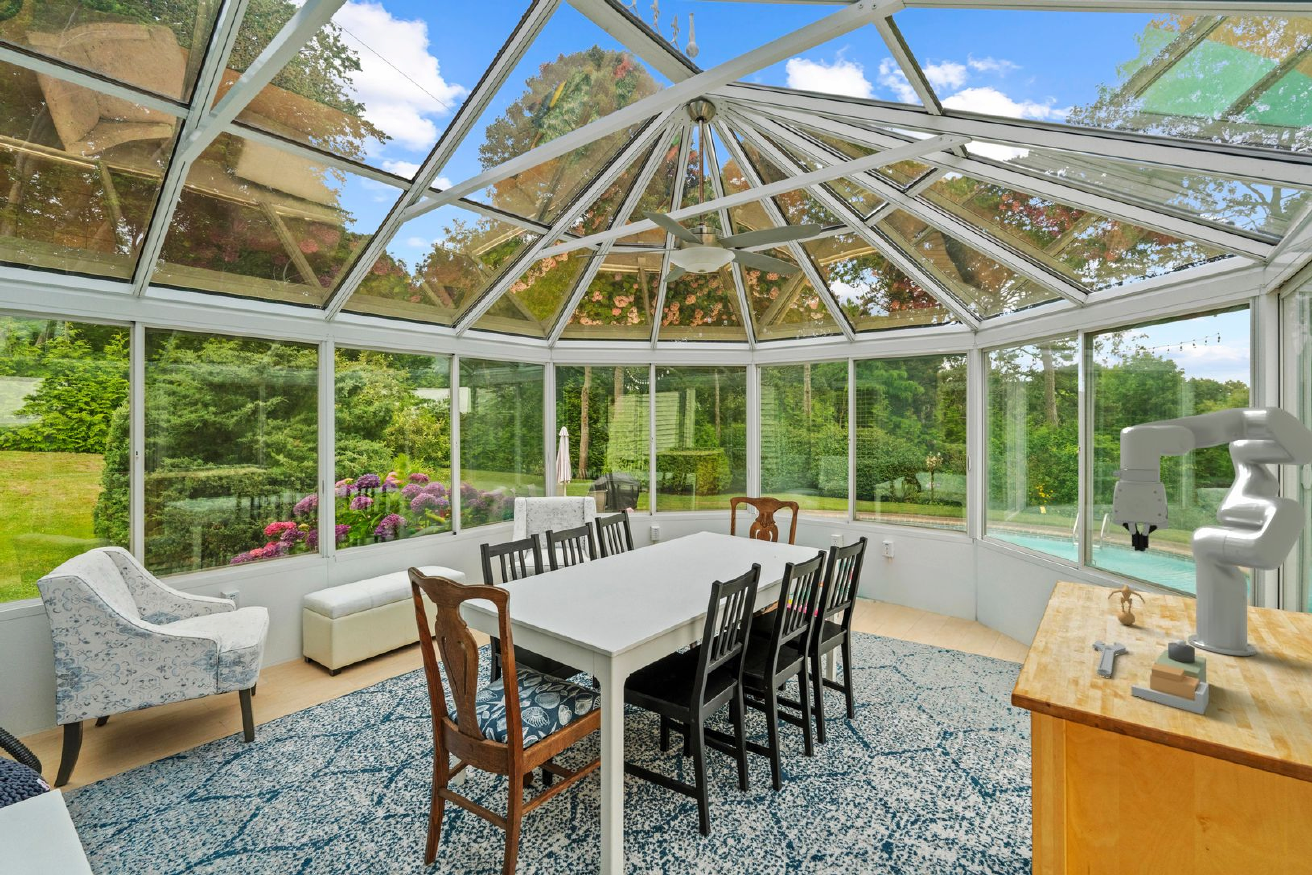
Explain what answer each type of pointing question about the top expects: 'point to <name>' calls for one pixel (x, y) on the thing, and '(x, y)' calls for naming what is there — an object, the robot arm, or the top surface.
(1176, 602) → the top surface
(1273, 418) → the robot arm
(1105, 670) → the adjustable wrench
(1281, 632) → the top surface
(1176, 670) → the stepped orange block
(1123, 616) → the figurine
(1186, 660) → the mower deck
